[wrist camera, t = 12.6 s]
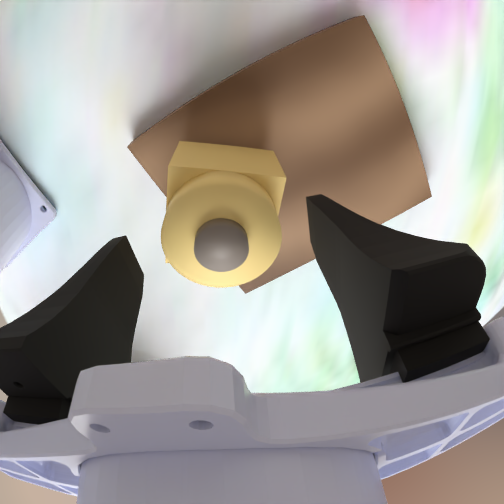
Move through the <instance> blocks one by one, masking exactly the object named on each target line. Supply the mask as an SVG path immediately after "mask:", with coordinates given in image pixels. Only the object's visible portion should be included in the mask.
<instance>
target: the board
mask: <svg viewBox="0 0 504 504" xmlns="http://www.w3.org/2000/svg"><path fill="white" fill-rule="evenodd" d="M179 141H186V142H198V143H210V144H220V145H230V146H239V147H247V148H255V149H263V150H270V151H274V153H275V155H276V157H277V159H278V161H279V163H280V165H281V167H282V169H283V171H284V173H285V176H286V183H285V187H284V192H283V197H282V201H281V206H280V210H279V215H278V219H279V222H280V225H281V231H282V242H281V247H280V250H279V253H278V255H277V257H276V259H275V260H274V262H273V263H272V265H271V266H270V267H269V268H268V269H267V270H266V271H265V272H264V273H263V274H261V275H260V276H258V277H257V278H255V279H253V280H252V281H249V282H247V283H244V284H241V285H239V286H240V288H241V289H242V290H243V291H244V292H245V294H246V293H248V292H250V291H252V290H254V289H256V288H258V287H260V286H262V285H264V284H266V283H268V282H270V281H272V280H274V279H276V278H278V277H280V276H282V275H284V274H286V273H288V272H290V271H292V270H294V269H296V268H298V267H300V266H302V265H304V264H306V263H308V262H310V261H312V260H314V259H316V257H315V254H314V251H313V248H312V245H311V242H310V233H309V223H308V213H307V204H306V197H308V196H313V195H318V194H322V195H324V196H326V197H328V198H330V199H332V200H333V201H335V202H337V203H339V204H340V205H342V206H344V207H346V208H347V209H349V210H351V211H353V212H355V213H357V214H359V215H361V216H363V217H365V218H367V219H369V220H371V221H373V222H376V223H378V224H380V225H381V224H382V223H384V222H386V221H388V220H390V219H392V218H394V217H395V216H397V215H399V214H401V213H403V212H405V211H406V210H408V209H410V208H412V207H414V206H416V205H417V204H419V203H421V202H423V201H425V200H426V199H428V198H430V197H432V196H431V191H430V187H429V183H428V180H427V176H426V172H425V168H424V165H423V161H422V158H421V154H420V151H419V148H418V144H417V141H416V138H415V135H414V132H413V129H412V126H411V123H410V120H409V117H408V114H407V111H406V109H405V106H404V103H403V101H402V98H401V95H400V93H399V90H398V88H397V85H396V83H395V80H394V78H393V75H392V73H391V71H390V68H389V66H388V64H387V61H386V59H385V57H384V55H383V53H382V50H381V48H380V46H379V44H378V42H377V40H376V38H375V36H374V34H373V32H372V30H371V28H370V26H369V24H368V22H367V20H366V18H365V16H364V15H363V16H358V17H354V18H351V19H348V20H346V21H343V22H341V23H338V24H336V25H333V26H331V27H328V28H326V29H324V30H321V31H319V32H317V33H314V34H312V35H310V36H308V37H305V38H303V39H301V40H299V41H297V42H295V43H292V44H290V45H288V46H286V47H284V48H282V49H280V50H278V51H276V52H274V53H272V54H270V55H268V56H266V57H264V58H262V59H260V60H258V61H257V62H255V63H253V64H251V65H249V66H247V67H246V68H244V69H242V70H240V71H238V72H237V73H235V74H233V75H231V76H230V77H228V78H226V79H224V80H223V81H221V82H219V83H218V84H216V85H214V86H213V87H211V88H209V89H208V90H206V91H205V92H203V93H201V94H200V95H198V96H197V97H195V98H193V99H192V100H190V101H189V102H187V103H186V104H184V105H183V106H181V107H180V108H178V109H177V110H175V111H174V112H172V113H171V114H169V115H168V116H166V117H165V118H164V119H162V120H161V121H159V122H158V123H156V124H155V125H154V126H152V127H151V128H149V129H148V130H147V131H145V132H144V133H143V134H141V135H140V136H139V137H137V138H136V139H135V140H133V141H132V142H131V143H130V144H129V145H128V149H129V150H130V151H131V153H132V154H133V155H134V156H135V158H136V159H137V160H138V162H139V163H140V164H141V165H142V167H143V168H144V169H145V171H146V172H147V173H148V174H149V176H150V177H151V178H152V180H153V181H154V182H155V183H156V185H157V186H158V187H159V188H160V190H161V191H162V192H163V193H164V195H165V196H166V197H167V179H168V165H169V163H170V161H171V158H172V156H173V154H174V152H175V150H176V148H177V146H178V143H179Z"/></svg>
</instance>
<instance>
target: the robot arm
mask: <svg viewBox="0 0 504 504" xmlns="http://www.w3.org/2000/svg"><path fill="white" fill-rule="evenodd" d="M306 204H307V213H308V223H309V233H310V242H311V245H312V248H313V251H314V254H315V257H316V260H317V263H318V265H319V267H320V269H321V271H322V273H323V275H324V277H325V279H326V281H327V284H328V286H329V288H330V290H331V292H332V294H333V296H334V298H335V300H336V302H337V305H338V307H339V310H340V312H341V315H342V318H343V321H344V325H345V328H346V331H347V334H348V338H349V341H350V344H351V348H352V351H353V355H354V359H355V362H356V366H357V370H358V374H359V378H360V382H361V383H358V384H354V385H350V386H347V387H343V388H339V389H335V390H331V391H315V392H291V393H251V392H250V391H249V390H248V388H247V385H246V383H245V380H244V378H243V376H242V375H241V374H240V373H239V372H238V371H237V370H236V369H235V368H234V367H233V366H232V365H231V364H229V363H226V362H223V361H220V360H217V359H214V358H211V357H198V356H185V357H177V358H169V359H161V360H152V361H143V362H134V363H131V352H132V343H133V337H134V332H135V328H136V323H137V318H138V314H139V309H140V304H141V300H142V294H143V281H144V274H143V272H142V270H141V267H140V265H139V263H138V261H137V259H136V257H135V254H134V252H133V250H132V248H131V246H130V243H129V241H128V239H127V236H122V237H118V238H114V239H112V240H110V241H109V242H108V243H107V244H106V245H104V246H103V247H102V248H101V249H100V250H99V251H98V252H97V253H96V254H95V255H94V256H93V257H92V258H91V259H90V260H89V261H88V262H87V263H86V264H85V265H84V266H83V267H82V268H81V269H80V270H78V271H77V272H76V273H75V274H74V275H73V276H72V277H71V278H70V279H69V280H68V281H67V282H66V283H65V284H64V285H62V286H61V287H60V288H59V289H58V290H57V291H55V292H54V293H53V294H52V295H51V296H49V297H48V298H47V299H45V300H44V301H43V302H41V303H40V304H38V305H37V306H36V307H34V308H33V309H32V310H30V311H29V312H27V313H26V314H24V315H22V316H21V317H19V318H17V319H16V320H14V321H12V322H11V323H9V324H7V325H5V326H3V327H1V328H0V389H1V390H2V391H3V392H4V393H5V394H6V395H8V399H7V402H4V401H2V400H0V471H2V472H3V473H5V474H7V475H9V476H10V477H13V478H16V479H19V480H22V481H25V482H28V483H32V484H35V485H39V486H42V487H45V488H48V489H52V490H55V491H59V492H62V493H66V494H70V495H73V496H77V504H387V501H386V497H385V493H384V489H383V486H382V483H381V480H382V479H384V478H387V477H389V476H392V475H394V474H397V473H399V472H401V471H404V470H406V469H409V468H411V467H413V466H416V465H418V464H420V463H422V462H424V461H426V460H429V459H431V458H433V457H435V456H437V455H439V454H441V453H443V452H444V451H446V450H448V449H450V448H452V447H454V446H456V445H458V444H460V443H461V442H463V441H465V440H467V439H469V438H470V437H472V436H474V435H476V434H477V433H479V432H481V431H483V430H484V429H486V428H488V427H489V426H491V425H493V424H494V423H496V422H497V421H499V420H500V419H503V418H504V316H502V317H500V318H498V319H496V320H494V321H492V322H490V323H489V324H488V325H486V326H485V328H484V329H483V327H482V326H481V324H480V323H479V320H480V319H481V314H480V313H479V311H478V310H477V309H476V305H477V303H478V300H479V297H480V295H481V292H482V289H483V286H484V282H485V278H486V267H485V265H484V263H483V261H482V260H481V259H480V257H479V256H478V255H477V254H476V253H475V252H474V251H473V250H472V249H471V248H470V247H469V245H468V244H463V243H454V242H445V241H438V240H433V239H427V238H422V237H418V236H414V235H410V234H407V233H403V232H400V231H397V230H394V229H391V228H388V227H386V226H383V225H380V224H378V223H376V222H373V221H371V220H369V219H367V218H365V217H363V216H361V215H359V214H357V213H355V212H353V211H351V210H349V209H347V208H346V207H344V206H342V205H340V204H339V203H337V202H335V201H333V200H332V199H330V198H328V197H326V196H324V195H322V194H318V195H313V196H308V197H306ZM43 206H45V207H46V209H47V210H45V209H44V208H43ZM56 215H57V212H56V210H55V208H54V207H53V206H52V204H51V203H50V202H49V201H48V200H47V199H46V197H45V196H44V195H43V194H42V193H41V191H40V190H39V189H38V188H37V186H36V185H35V184H34V183H33V182H32V180H31V179H30V178H29V177H28V175H27V174H26V173H25V171H24V170H23V169H22V168H21V166H20V165H19V164H18V162H17V161H16V160H15V159H14V157H13V156H12V155H11V153H10V152H9V151H8V149H7V148H6V147H5V145H4V144H3V142H2V141H1V140H0V273H1V272H2V270H3V269H4V268H5V267H8V265H9V264H10V263H11V262H12V261H13V260H14V259H15V258H16V257H17V256H18V255H19V254H20V253H21V251H22V250H23V249H24V248H25V247H26V246H27V245H28V244H29V243H30V242H31V241H32V240H33V239H34V238H35V237H36V236H37V235H38V234H39V233H40V232H41V231H42V230H43V229H44V228H45V227H46V226H47V225H48V224H49V223H50V222H52V221H53V220H54V218H55V217H56Z"/></svg>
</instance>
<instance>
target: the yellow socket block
mask: <svg viewBox="0 0 504 504" xmlns="http://www.w3.org/2000/svg"><path fill="white" fill-rule="evenodd" d="M285 183H286V176H285V173H284V171H283V169H282V167H281V165H280V163H279V161H278V159H277V157H276V155H275V153H274V151H270V150H263V149H255V148H247V147H239V146H230V145H220V144H210V143H198V142H186V141H179V143H178V146H177V148H176V150H175V152H174V154H173V156H172V158H171V161H170V163H169V165H168V179H167V204H166V215H165V218H164V221H163V225H162V229H161V244H162V248H163V251H164V254H165V256H166V263H170V264H171V265H172V267H173V268H174V269H175V270H176V271H177V272H178V273H180V274H181V275H182V276H184V277H185V278H187V279H189V280H191V281H193V282H195V283H198V284H201V285H205V286H209V287H232V286H238V285H241V284H244V283H247V282H249V281H252V280H253V279H255V278H257V277H258V276H260V275H261V274H263V273H264V272H265V271H266V270H267V269H268V268H269V267H270V266H271V265H272V263H273V262H274V260H275V259H276V257H277V255H278V253H279V250H280V247H281V242H282V231H281V225H280V222H279V219H278V215H279V210H280V206H281V201H282V197H283V192H284V187H285Z"/></svg>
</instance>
